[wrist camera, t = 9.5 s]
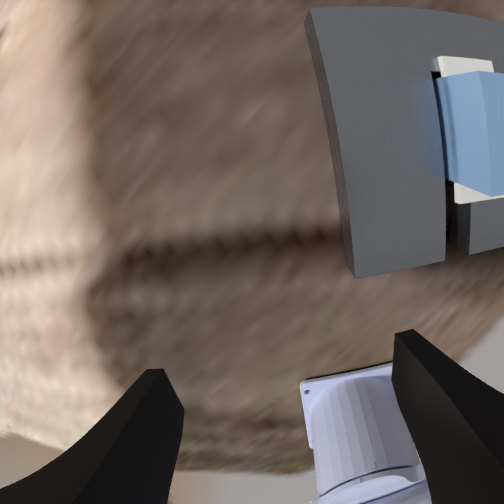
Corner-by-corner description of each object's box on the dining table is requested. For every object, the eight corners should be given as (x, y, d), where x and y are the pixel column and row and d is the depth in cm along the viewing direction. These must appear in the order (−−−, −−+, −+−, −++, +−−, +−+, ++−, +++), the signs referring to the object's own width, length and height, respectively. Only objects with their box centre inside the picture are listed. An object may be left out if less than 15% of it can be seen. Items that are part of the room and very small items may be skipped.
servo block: (476, 185, 17) (536, 211, 11) (433, 191, 17) (490, 220, 12) (463, 66, 14) (524, 56, 8) (416, 64, 14) (473, 46, 9)
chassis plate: (532, 222, 17) (552, 233, 15) (345, 260, 19) (355, 279, 17) (516, 37, 12) (537, 32, 10) (303, 23, 14) (309, 8, 12)
